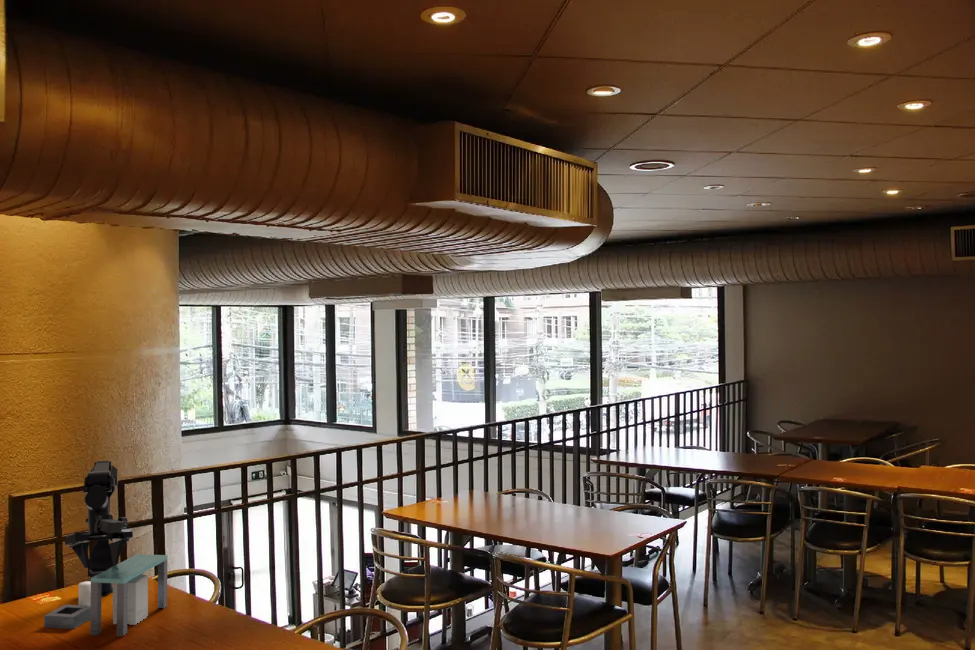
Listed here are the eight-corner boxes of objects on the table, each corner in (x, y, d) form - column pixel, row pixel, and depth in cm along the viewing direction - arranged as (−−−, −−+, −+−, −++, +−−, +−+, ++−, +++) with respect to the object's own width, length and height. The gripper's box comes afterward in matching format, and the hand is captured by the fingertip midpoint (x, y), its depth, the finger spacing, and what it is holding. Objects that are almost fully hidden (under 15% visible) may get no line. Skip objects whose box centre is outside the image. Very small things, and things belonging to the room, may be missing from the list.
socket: (64, 616, 239) (64, 604, 239) (92, 617, 238) (93, 605, 238) (44, 627, 229) (44, 615, 229) (73, 629, 228) (73, 617, 228)
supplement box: (148, 616, 239) (149, 574, 239) (135, 625, 232) (135, 582, 232) (125, 615, 240) (126, 573, 240) (111, 624, 232) (112, 581, 232)
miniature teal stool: (137, 605, 248) (137, 554, 248) (167, 607, 247) (167, 555, 247) (90, 634, 224) (90, 578, 224) (123, 636, 223) (123, 579, 223)
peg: (83, 606, 247) (83, 581, 247) (95, 607, 246) (95, 581, 246) (75, 611, 243) (75, 585, 243) (87, 611, 242) (87, 585, 242)
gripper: (86, 508, 226) (88, 564, 221) (142, 506, 242) (146, 558, 237) (62, 517, 231) (64, 571, 226) (119, 514, 247) (122, 565, 242)
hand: (101, 566), depth 233 cm, fingers open, 9 cm apart
